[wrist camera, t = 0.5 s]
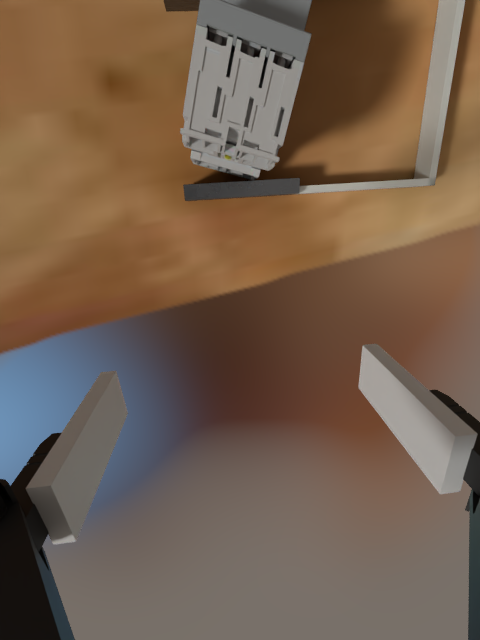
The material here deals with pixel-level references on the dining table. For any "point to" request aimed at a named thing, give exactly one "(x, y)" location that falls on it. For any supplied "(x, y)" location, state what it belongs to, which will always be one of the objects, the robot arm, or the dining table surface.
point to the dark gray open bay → (226, 190)
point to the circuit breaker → (243, 82)
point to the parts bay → (433, 106)
